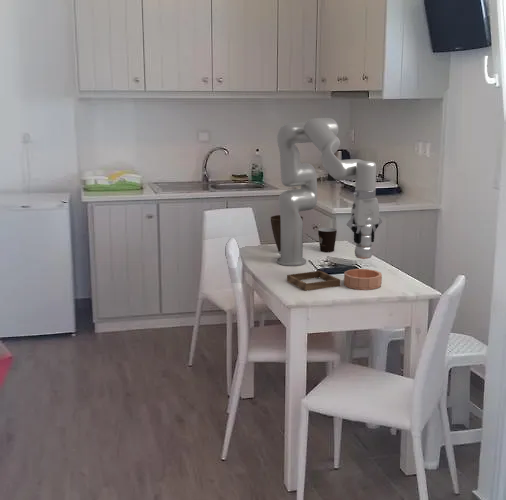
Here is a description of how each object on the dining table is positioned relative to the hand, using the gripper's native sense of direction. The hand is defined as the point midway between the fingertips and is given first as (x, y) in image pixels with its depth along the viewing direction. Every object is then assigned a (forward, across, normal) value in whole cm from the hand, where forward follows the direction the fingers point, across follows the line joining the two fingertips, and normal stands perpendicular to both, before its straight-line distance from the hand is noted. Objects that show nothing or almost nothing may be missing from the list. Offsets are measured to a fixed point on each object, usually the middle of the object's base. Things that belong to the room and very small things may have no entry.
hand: (363, 241), depth 265 cm
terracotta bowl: (+17, 0, 0) cm, 17 cm away
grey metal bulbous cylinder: (+7, 0, 0) cm, 7 cm away
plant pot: (+17, 0, +63) cm, 65 cm away
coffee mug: (+17, +18, +57) cm, 62 cm away
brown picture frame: (+17, -16, +10) cm, 25 cm away
